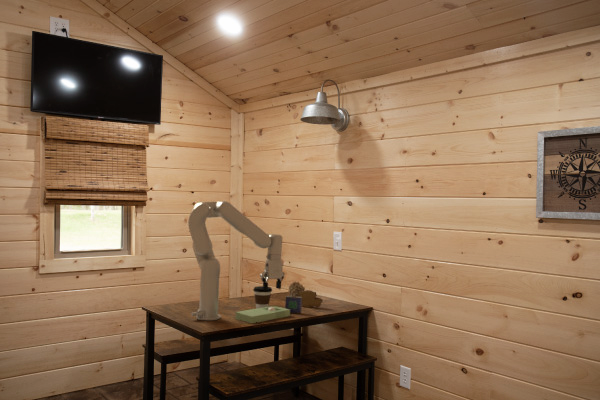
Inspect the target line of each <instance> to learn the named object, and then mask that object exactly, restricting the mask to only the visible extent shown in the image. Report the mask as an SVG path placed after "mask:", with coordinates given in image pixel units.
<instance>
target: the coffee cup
mask: <svg viewBox="0 0 600 400" xmlns="http://www.w3.org/2000/svg"><path fill="white" fill-rule="evenodd" d="M252 291H253V292H254V303H255V309H257V308H262V307H268V306H270V305H269V304H270V302H271V294H272V293H271V292H273V289H272V287H271V286H268V290H263V285H261V286H260V285H259V286H255V287H253V290H252Z"/></svg>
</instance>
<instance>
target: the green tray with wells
mask: <svg viewBox="0 0 600 400" xmlns="http://www.w3.org/2000/svg"><path fill="white" fill-rule="evenodd" d="M270 307H274V308H275V310H276V311H269V310H268V308H270ZM234 315H235V317H234V318H235V320H238V321H242V322H246V323H248V324H257V323H261V322H262V323H263V322H265V321H271V320H272V321H273V320H276V319H282V318H287V317H291V313H290V310H289V309H285V307H280V306H276V305H268V307H262V308H251V309H246V310H240V311H235V314H234ZM256 322H257V323H256Z"/></svg>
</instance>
